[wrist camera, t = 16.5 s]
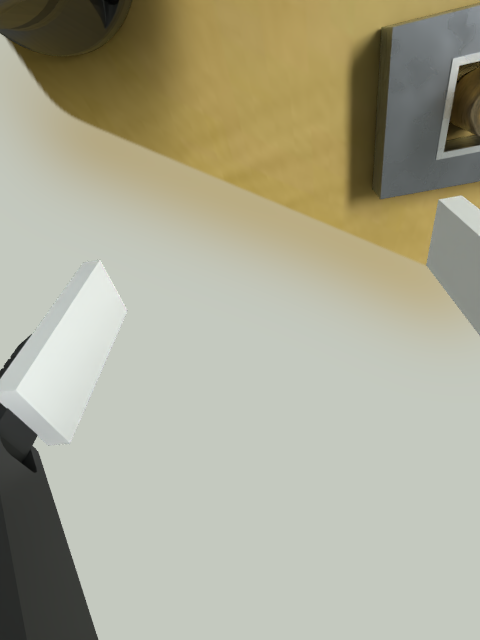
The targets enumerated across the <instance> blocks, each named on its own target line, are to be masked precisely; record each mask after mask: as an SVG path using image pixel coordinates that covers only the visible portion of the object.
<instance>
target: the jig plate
mask: <svg viewBox="0 0 480 640" xmlns="http://www.w3.org/2000/svg"><path fill="white" fill-rule="evenodd" d="M478 61H480V3H477V4H473V5H469V6H465V7H461V8H457V9H453V10H449V11H445V12H441V13H437V14H433V15H429V16H425V17H421V18H417V19H413V20H409V21H405V22H401V23H397V24H393V25H389V26H385V27H381V45H380V63H379V81H378V99H377V117H376V135H375V153H374V171H373V188H372V189H373V190H374V192H375V193H376V194H377V196H378V197H379V198H380V199H384V198H390V197H395V196H401V195H406V194H412V193H417V192H423V191H428V190H434V189H439V188H445V187H450V186H456V185H461V184H467V183H472V182H478V181H480V136H478V135H473V136H468V137H463V138H458V139H453V140H448V141H446V137H447V131H448V126H449V120H450V115H451V109H452V103H453V98H454V92H455V87H456V81H457V76H458V70H459V66H460V65H465V64H469V63H473V62H478Z"/></svg>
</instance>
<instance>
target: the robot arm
mask: <svg viewBox="0 0 480 640" xmlns="http://www.w3.org/2000/svg"><path fill="white" fill-rule="evenodd" d="M131 2H132V0H0V33H1V34H2V35H4V36H5V37H7V38H8V39H10V40H11V41H13V42H15V43H16V44H18V45H20V46H22V47H25V48H27V49H29V50H32V51H35V52H38V53H42V54H46V55H51V56H72V55H80V54H84V53H88V52H91V51H93V50H95V49H97V48H99V47H101V46H102V45H104V44H105V43H106V42H107V41H109V40H110V39H111V38H112V37H113V36H114V34H115V33H116V32H117V31H118V29H119V28H120V26H121V25H122V23H123V21H124V19H125V17H126V15H127V13H128V10H129V8H130V5H131ZM426 265H427V267H428V268H429V269H430V270H431V272H432V273H433V274H434V276H435V277H436V279H437V280H438V281H439V283H440V284H441V285H442V286H443V288H444V289H445V290H446V292H447V293H448V294H449V296H450V297H451V298H452V299H453V301H454V302H455V304H456V305H457V306H458V308H459V309H460V310H461V311H462V313H463V314H464V315H465V317H466V318H467V319H468V321H469V322H470V323H471V325H472V326H473V327H474V329H475V330H476V331H477V332H478V334H479V335H480V209H478V208H477V207H476V206H475V205H473V204H472V203H471V202H469V201H468V200H467V199H466V198H464V197H463V196H456V197H451V198H445V199H439V200H438V205H437V211H436V216H435V222H434V227H433V232H432V238H431V243H430V248H429V254H428V259H427V264H426ZM126 313H127V309H126V307H125V305H124V303H123V301H122V299H121V297H120V296H119V294H118V292H117V290H116V288H115V286H114V285H113V283H112V281H111V279H110V277H109V275H108V273H107V272H106V270H105V268H104V266H103V264H102V262H101V260H95V261H90V262H84V263H83V264H82V265H81V266H80V268H79V269H78V271H77V272H76V273H75V275H74V276H73V278H72V279H71V281H70V282H69V283H68V285H67V286H66V287H65V289H64V290H63V292H62V293H61V294H60V296H59V297H58V299H57V300H56V301H55V303H54V304H53V306H52V307H51V308H50V310H49V311H48V313H47V314H46V315H45V317H44V318H43V320H42V321H41V322H40V324H39V325H38V327H37V328H36V329H35V331H34V332H33V334H31V335H30V336H29V337H28V338H27V339H25V340H24V341H23V342H22V343H21V344H20V345H19V346H18V347H17V348H16V350H15V351H14V353H13V354H12V355H11V359H8V361H7V362H6V364H5V365H4V368H3V369H1V370H0V640H98V637H97V634H96V631H95V628H94V625H93V622H92V619H91V615H90V613H89V609H88V606H87V603H86V600H85V597H84V594H83V590H82V588H81V584H80V581H79V578H78V575H77V572H76V569H75V565H74V562H73V559H72V556H71V553H70V550H69V547H68V544H67V540H66V537H65V534H64V531H63V528H62V525H61V521H60V518H59V515H58V512H57V509H56V506H55V503H54V500H53V496H52V493H51V490H50V487H49V484H48V481H47V478H46V474H45V471H44V468H43V465H42V462H41V459H40V456H39V453H38V451H37V450H36V448H34V447H33V446H32V445H33V443H34V441H35V439H36V437H37V436H38V437H39V438H40V439H41V440H43V441H44V442H45V443H46V444H47V445H48V446H49V445H60V444H69V443H71V440H72V438H73V435H74V433H75V431H76V429H77V426H78V424H79V422H80V419H81V417H82V415H83V413H84V410H85V408H86V406H87V403H88V401H89V399H90V396H91V394H92V392H93V389H94V387H95V385H96V382H97V380H98V378H99V375H100V373H101V371H102V368H103V366H104V364H105V361H106V359H107V357H108V355H109V352H110V350H111V348H112V345H113V343H114V341H115V338H116V336H117V334H118V331H119V329H120V327H121V325H122V322H123V320H124V318H125V315H126Z"/></svg>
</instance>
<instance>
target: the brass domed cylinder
mask: <svg viewBox="0 0 480 640" xmlns="http://www.w3.org/2000/svg"><path fill="white" fill-rule="evenodd" d="M450 121H451V123H453V124H454V125H456V126H458V127H460V128H462V129H465V130H467V131H469V132H471V133H473V134H475V135H478V136H480V68H478V69H475V70H473V71H471V72H469V73H468V74H466V75H465V76H464V77H463V78H462V79H461V80H460V81H459V82H458V83H457V84H456V87H455V92H454V98H453V103H452V109H451V115H450Z"/></svg>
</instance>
